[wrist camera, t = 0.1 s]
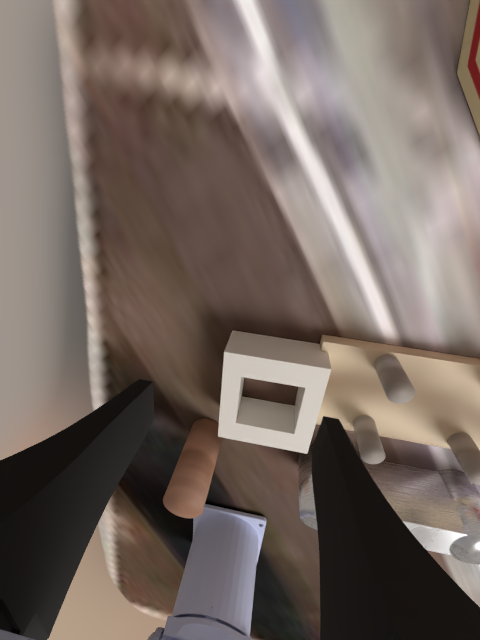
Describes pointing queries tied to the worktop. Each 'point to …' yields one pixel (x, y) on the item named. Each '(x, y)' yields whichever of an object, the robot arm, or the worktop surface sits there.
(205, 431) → the pin
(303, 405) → the slot block
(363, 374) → the peg board
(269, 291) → the worktop surface
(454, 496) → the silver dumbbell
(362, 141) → the worktop surface
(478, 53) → the milk carton
